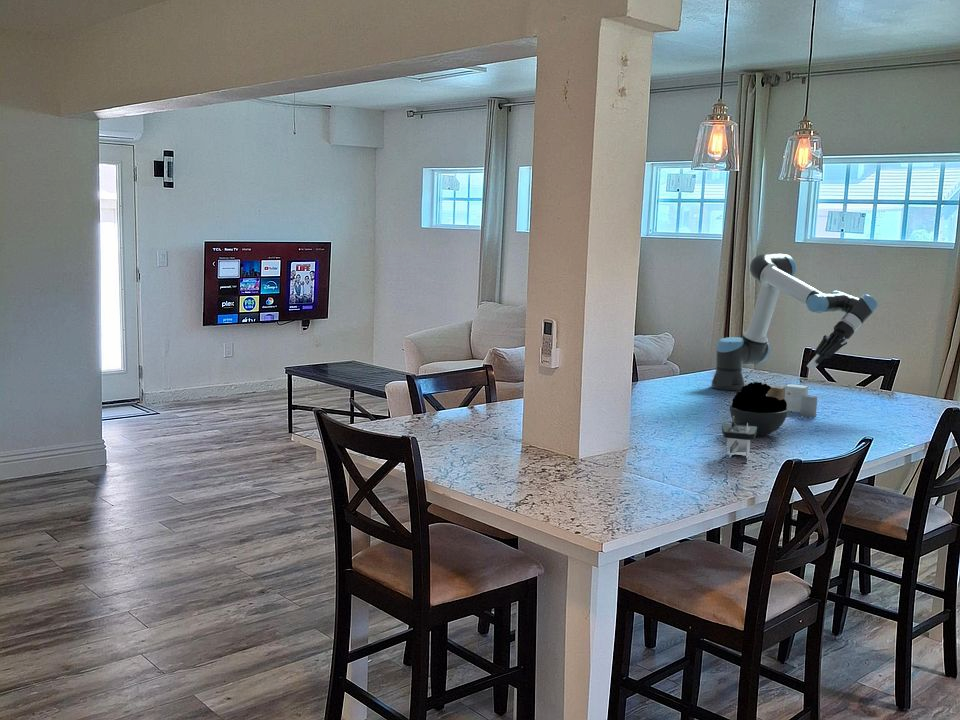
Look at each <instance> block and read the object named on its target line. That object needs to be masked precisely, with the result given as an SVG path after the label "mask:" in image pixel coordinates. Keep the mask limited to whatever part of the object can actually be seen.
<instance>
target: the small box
mask: <svg viewBox="0 0 960 720" xmlns="http://www.w3.org/2000/svg"><path fill="white" fill-rule="evenodd" d="M784 387H785V401H786V403H787V410H788V412H790V411H792V413H799V412H800V410H801V396H803V395H808V394H809V385H802V384H801V385H800V384H792V383H791V384H789V383H788V384H787V385H785V386H784Z"/></svg>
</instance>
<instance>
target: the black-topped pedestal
mask: <svg viewBox="0 0 960 720" xmlns="http://www.w3.org/2000/svg"><path fill="white" fill-rule="evenodd" d="M735 423H736V422H734V416H733V419H732V418H731V421H730V423H723V424H722V425H721V433H722V436H723V437H724V438H725V439H726V441H727V442H726V452H727V451H730V453H735V452H746V457H745V459H746V458H747V457H748V455H749V456H750V448H751V440H755V438H756V436H757V435H756V434H757V427H756V426H748V423H743V424H746V425H747V426H745V425H740V423H739V424H738V423H737V424H738V425H736V424H735ZM741 424H742V423H741Z"/></svg>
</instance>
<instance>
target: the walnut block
mask: <svg viewBox="0 0 960 720" xmlns="http://www.w3.org/2000/svg"><path fill="white" fill-rule="evenodd" d="M770 386H771V389H770V390H769V391H768V393H767V395H766V396H768V397H775V398H778V400H782V399H784V400H785V386H781V385H775V384H774V385H773V384H772V385H770Z"/></svg>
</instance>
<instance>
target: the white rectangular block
mask: <svg viewBox="0 0 960 720" xmlns="http://www.w3.org/2000/svg"><path fill="white" fill-rule="evenodd" d="M817 407H818V396H817V395H816V396H815V395H803V396H801V410H800V415H799V416H800V417H801V416H803V417H802V418H805V417H816V418H817V409H818V408H817Z"/></svg>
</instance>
